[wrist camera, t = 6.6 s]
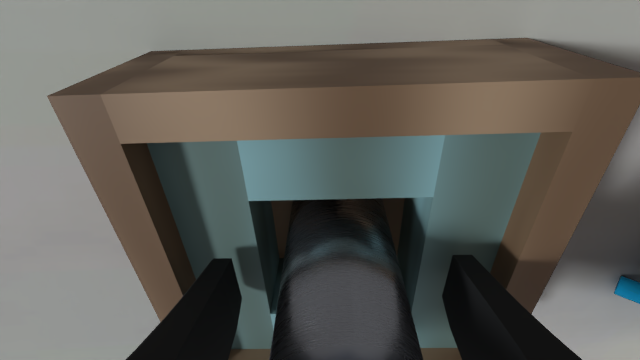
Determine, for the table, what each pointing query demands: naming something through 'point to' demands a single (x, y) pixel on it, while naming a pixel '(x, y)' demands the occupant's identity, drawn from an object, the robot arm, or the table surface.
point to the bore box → (349, 161)
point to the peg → (342, 286)
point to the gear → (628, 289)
